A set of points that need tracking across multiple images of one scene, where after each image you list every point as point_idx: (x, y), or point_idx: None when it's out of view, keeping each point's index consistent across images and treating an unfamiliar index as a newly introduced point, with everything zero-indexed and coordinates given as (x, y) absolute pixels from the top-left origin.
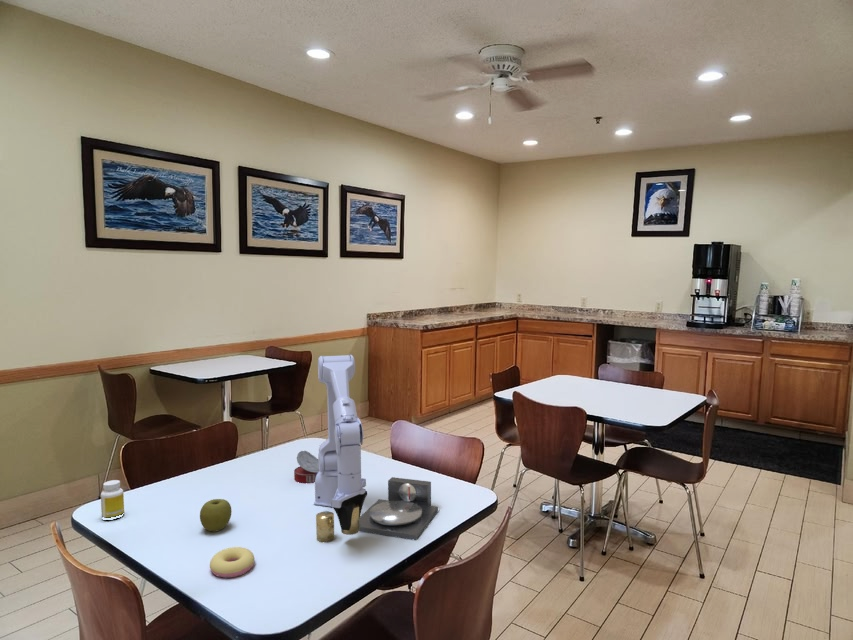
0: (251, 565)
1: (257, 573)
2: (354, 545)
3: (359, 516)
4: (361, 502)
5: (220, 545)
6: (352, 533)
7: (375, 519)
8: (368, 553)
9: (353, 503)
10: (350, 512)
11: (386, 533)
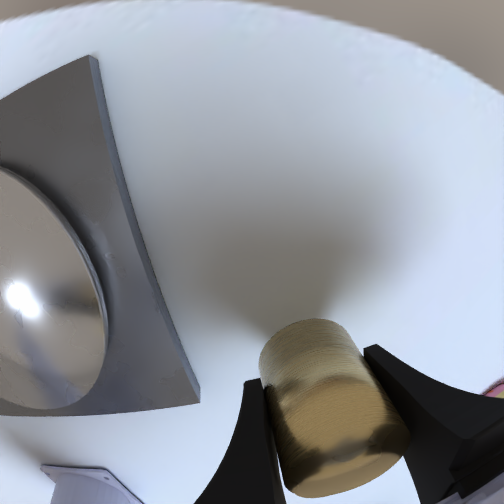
0: (498, 392)
1: (501, 369)
2: (310, 293)
3: (254, 396)
4: (271, 470)
5: (410, 483)
6: (342, 328)
7: (104, 344)
8: (346, 187)
9: (478, 443)
10: (466, 395)
11: (135, 229)
